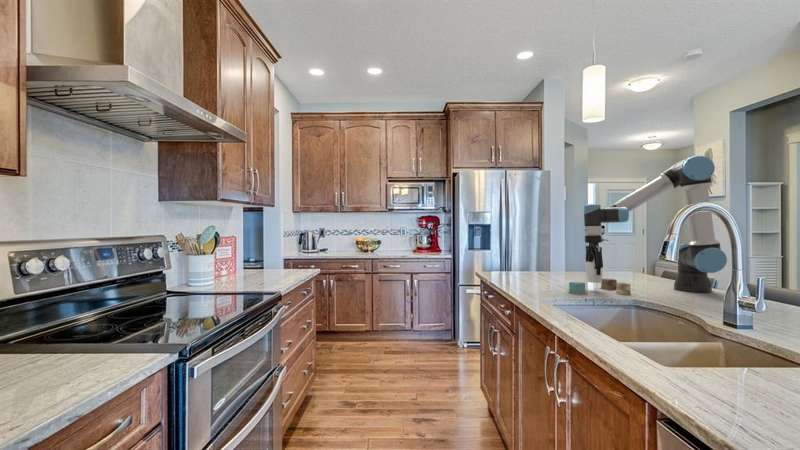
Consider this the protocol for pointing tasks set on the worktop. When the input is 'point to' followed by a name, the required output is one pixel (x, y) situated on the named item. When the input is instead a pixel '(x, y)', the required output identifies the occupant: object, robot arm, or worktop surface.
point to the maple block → (623, 288)
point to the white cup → (591, 272)
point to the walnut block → (609, 284)
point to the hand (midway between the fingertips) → (594, 280)
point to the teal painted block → (577, 287)
